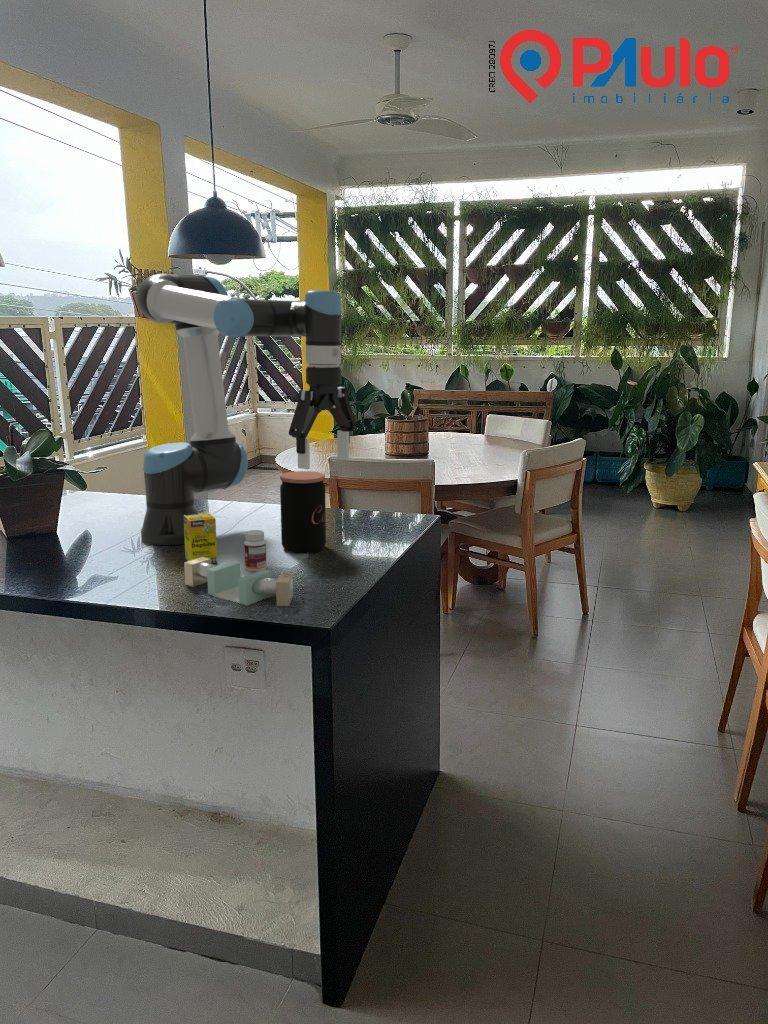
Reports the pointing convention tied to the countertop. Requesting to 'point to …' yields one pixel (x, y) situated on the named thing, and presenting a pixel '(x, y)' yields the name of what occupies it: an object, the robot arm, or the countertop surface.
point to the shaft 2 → (276, 588)
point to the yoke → (235, 583)
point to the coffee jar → (303, 511)
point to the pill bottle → (255, 551)
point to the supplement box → (200, 537)
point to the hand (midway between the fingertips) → (324, 464)
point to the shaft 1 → (197, 571)
